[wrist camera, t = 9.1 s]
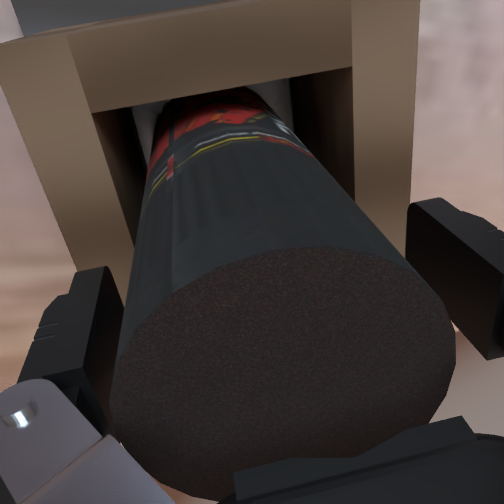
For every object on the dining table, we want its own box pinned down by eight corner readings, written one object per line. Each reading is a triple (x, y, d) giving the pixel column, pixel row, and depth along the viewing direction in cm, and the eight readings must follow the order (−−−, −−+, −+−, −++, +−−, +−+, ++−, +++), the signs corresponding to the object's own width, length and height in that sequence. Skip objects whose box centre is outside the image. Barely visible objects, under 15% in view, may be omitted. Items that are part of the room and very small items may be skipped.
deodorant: (302, 109, 20) (526, 303, 7) (252, 221, 23) (353, 516, 10) (176, 56, 18) (177, 189, 5) (136, 184, 21) (71, 487, 8)
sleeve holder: (17, 0, 18) (-90, 1, 10) (345, -53, 19) (467, -86, 11) (118, 278, 25) (98, 401, 18) (352, 229, 26) (430, 324, 19)
